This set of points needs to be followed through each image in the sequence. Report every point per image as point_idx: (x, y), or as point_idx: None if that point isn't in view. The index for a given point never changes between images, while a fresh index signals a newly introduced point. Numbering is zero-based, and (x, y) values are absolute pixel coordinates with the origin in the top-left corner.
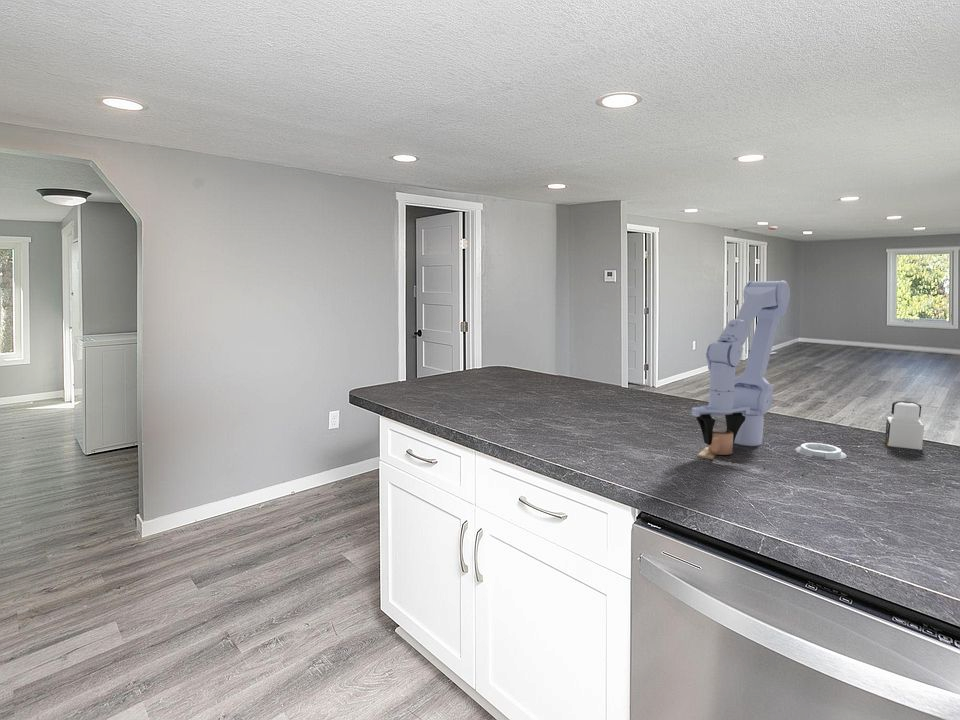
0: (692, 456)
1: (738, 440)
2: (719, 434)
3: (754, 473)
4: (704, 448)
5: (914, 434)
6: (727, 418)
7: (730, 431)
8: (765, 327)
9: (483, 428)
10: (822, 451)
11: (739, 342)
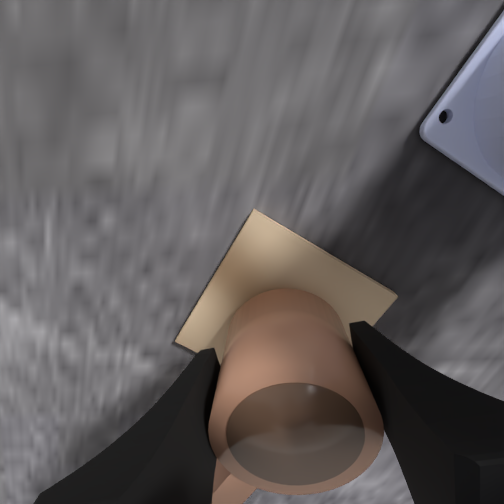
0: (155, 330)
1: (501, 151)
2: (258, 484)
3: (332, 492)
4: (236, 240)
5: None
6: (432, 458)
7: (371, 431)
8: None
9: None
10: None
11: None
